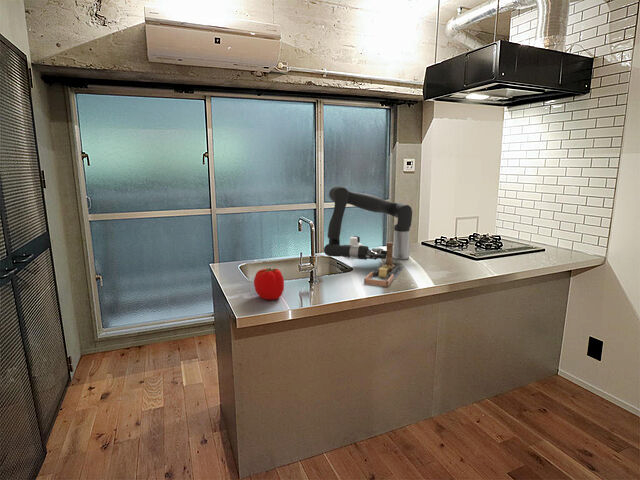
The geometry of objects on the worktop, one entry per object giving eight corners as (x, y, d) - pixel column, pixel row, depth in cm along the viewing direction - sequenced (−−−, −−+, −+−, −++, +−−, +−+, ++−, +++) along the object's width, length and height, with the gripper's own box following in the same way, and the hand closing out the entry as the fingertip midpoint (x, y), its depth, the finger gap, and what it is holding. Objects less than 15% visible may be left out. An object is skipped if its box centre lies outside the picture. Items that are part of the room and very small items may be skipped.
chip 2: (382, 271, 205) (383, 264, 205) (390, 272, 204) (390, 265, 203) (381, 273, 202) (381, 266, 201) (388, 274, 200) (389, 267, 199)
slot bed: (380, 266, 219) (380, 261, 218) (403, 269, 214) (403, 264, 213) (369, 277, 199) (370, 272, 198) (394, 280, 194) (395, 275, 193)
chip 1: (380, 274, 201) (380, 267, 200) (388, 275, 199) (388, 267, 199) (378, 276, 197) (378, 269, 196) (386, 277, 196) (386, 270, 195)
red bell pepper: (275, 305, 162) (275, 274, 159) (247, 301, 167) (246, 270, 164) (292, 293, 176) (291, 264, 173) (265, 289, 181) (264, 261, 178)
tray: (371, 277, 198) (371, 271, 198) (393, 280, 194) (393, 274, 193) (364, 285, 187) (364, 278, 186) (387, 288, 183) (387, 281, 182)
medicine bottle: (352, 253, 249) (352, 234, 246) (362, 254, 245) (362, 236, 243) (347, 255, 243) (347, 236, 240) (357, 257, 239) (357, 238, 237)
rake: (386, 267, 214) (387, 240, 210) (395, 268, 212) (396, 241, 209) (382, 270, 207) (383, 243, 204) (392, 271, 205) (393, 244, 202)
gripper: (355, 248, 207) (385, 251, 201) (363, 243, 220) (391, 245, 214) (355, 261, 209) (384, 265, 203) (362, 255, 222) (390, 258, 215)
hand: (387, 255), depth 208 cm, fingers open, 8 cm apart
